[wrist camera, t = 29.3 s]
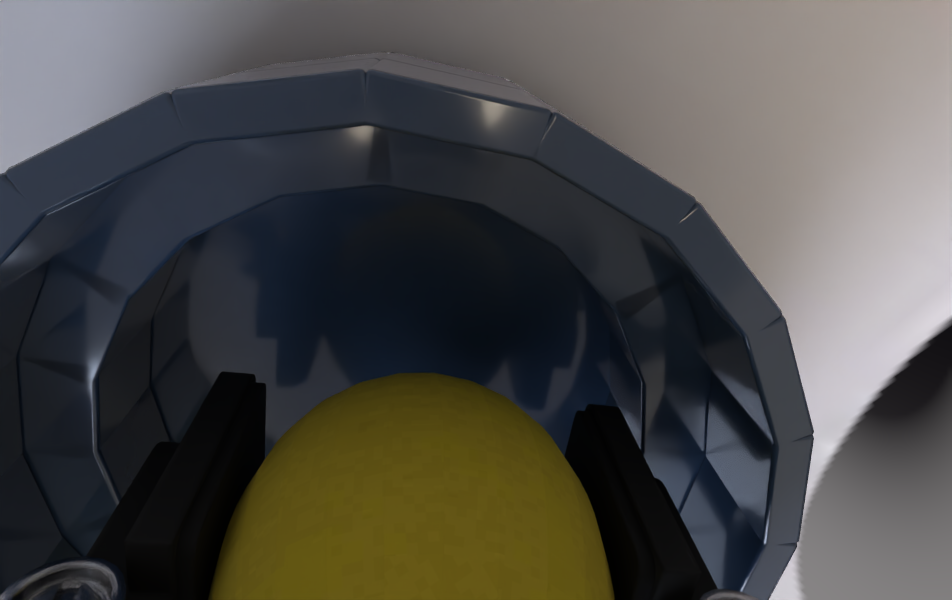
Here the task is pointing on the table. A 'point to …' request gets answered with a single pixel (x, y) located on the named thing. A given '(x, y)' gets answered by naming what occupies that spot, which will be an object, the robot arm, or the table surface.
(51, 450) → the bowl
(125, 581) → the robot arm
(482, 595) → the lemon
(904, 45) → the table surface
